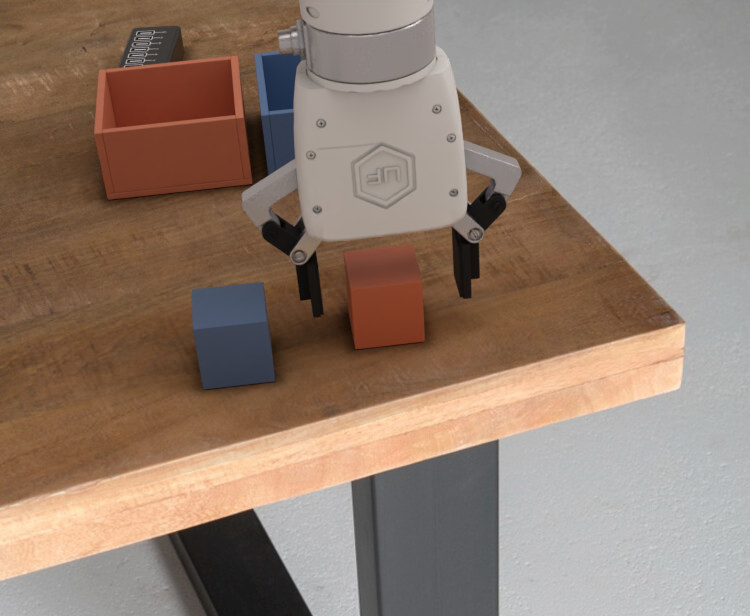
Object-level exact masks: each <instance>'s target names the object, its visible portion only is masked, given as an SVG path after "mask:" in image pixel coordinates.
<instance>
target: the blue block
mask: <svg viewBox="0 0 750 616" xmlns="http://www.w3.org/2000/svg"><path fill="white" fill-rule="evenodd" d="M265 293H266V292H265V284H264V281H256V282H248V283H247V282H246V283H238V284H237V283H236V284H229V285H220V286H213V287H212V286H211V287H202V288H195V289H194V288H193V289H191V314H192V315H191V317H192V322H191V323H192V334H193V339H194V345H195V349H196V355H197V361H198V366H199V368H198V369H199V373H200V378H201V384H202V389H203V391H204V390H212V389H213V390H214V389H222V388H231V387H239V386H248V385H257V384H264V383H274V382H276V376H275V367H274V366H275V365H274V357H273V347H272V337H271V331H270V324H269V316H268V307H267V300H266V294H265Z"/></svg>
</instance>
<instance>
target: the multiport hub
mask: <svg viewBox="0 0 750 616" xmlns="http://www.w3.org/2000/svg"><path fill="white" fill-rule="evenodd" d="M184 53H185V48H184V41H183V35H182V27H181V26H180V25H164V26H163V25H162V26H161V25H160V26H144V27H143V26H142V27H141V26H139V27H134V28H132V29H131V31H130V34H129V36H128V39H127V42H126V44H125V47H124V50H123V52H122V55H121V58H120V60H119V63H118V66H117V68H123V67H133V66H142V65H152V64H161V63H170V62H180V61H183V57H184V55H185V54H184Z"/></svg>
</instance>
